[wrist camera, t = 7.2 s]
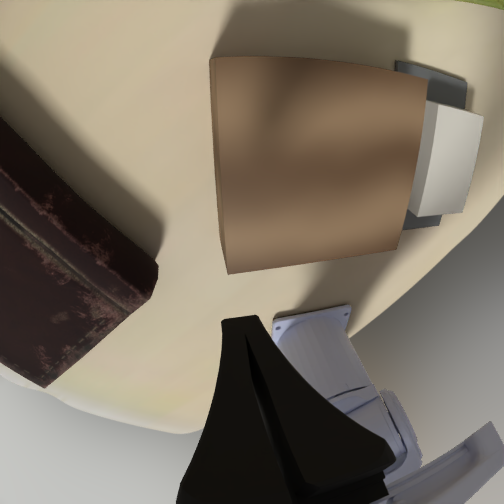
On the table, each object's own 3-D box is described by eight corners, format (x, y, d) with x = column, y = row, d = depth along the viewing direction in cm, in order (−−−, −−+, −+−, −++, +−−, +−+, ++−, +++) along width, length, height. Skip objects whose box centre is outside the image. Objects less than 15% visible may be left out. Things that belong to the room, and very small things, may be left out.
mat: (437, 224, 25) (438, 225, 25) (372, 231, 24) (374, 233, 23) (464, 82, 17) (467, 82, 17) (395, 60, 16) (398, 60, 15)
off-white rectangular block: (417, 217, 21) (403, 205, 22) (462, 212, 22) (448, 202, 23) (438, 104, 16) (420, 98, 17) (483, 116, 16) (467, 110, 18)
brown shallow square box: (369, 221, 23) (396, 249, 20) (220, 238, 21) (227, 274, 18) (389, 72, 16) (427, 79, 13) (209, 60, 14) (215, 57, 11)
